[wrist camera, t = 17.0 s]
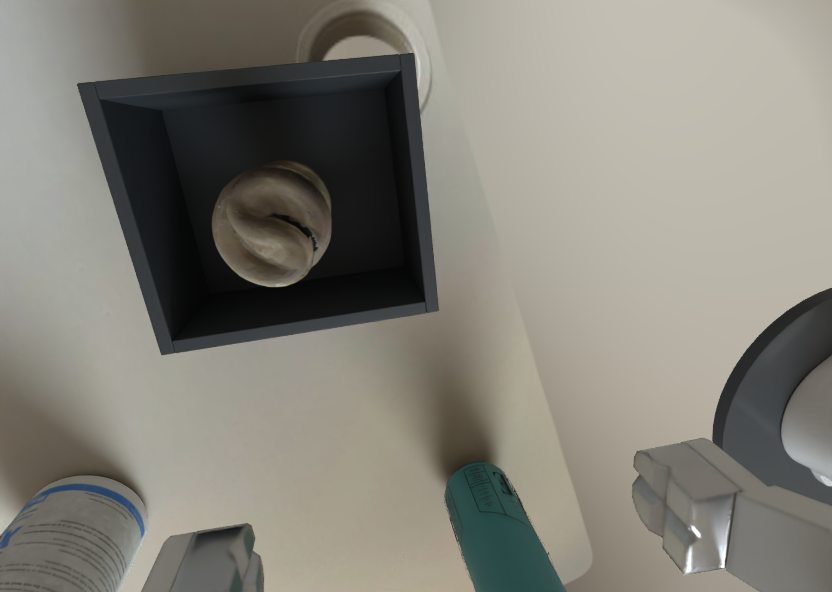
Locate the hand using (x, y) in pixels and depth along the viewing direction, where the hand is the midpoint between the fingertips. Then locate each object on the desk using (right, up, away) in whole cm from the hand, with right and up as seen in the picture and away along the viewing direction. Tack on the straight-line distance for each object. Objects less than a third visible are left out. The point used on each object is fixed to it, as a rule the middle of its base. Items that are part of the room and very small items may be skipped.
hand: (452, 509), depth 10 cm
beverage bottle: (+5, -13, +37) cm, 39 cm away
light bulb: (-10, +12, +25) cm, 29 cm away
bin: (-10, +12, +26) cm, 30 cm away
